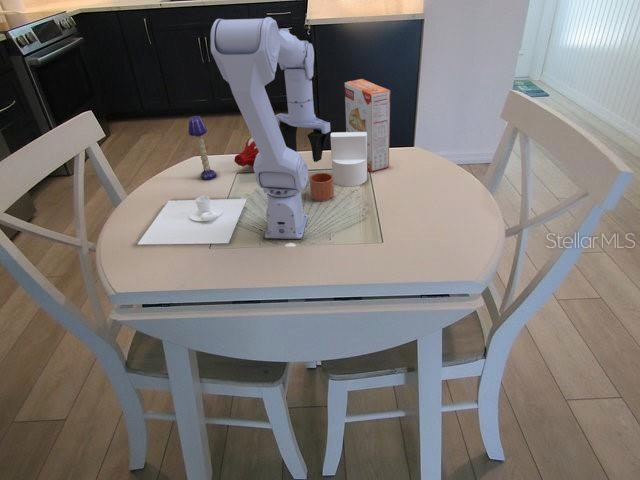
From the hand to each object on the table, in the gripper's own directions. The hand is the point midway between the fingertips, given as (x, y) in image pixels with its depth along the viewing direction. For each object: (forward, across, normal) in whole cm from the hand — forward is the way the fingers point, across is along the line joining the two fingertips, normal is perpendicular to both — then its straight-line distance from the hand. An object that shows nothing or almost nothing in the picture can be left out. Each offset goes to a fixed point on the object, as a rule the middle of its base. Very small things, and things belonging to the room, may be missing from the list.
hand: (304, 157), depth 108 cm
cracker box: (+10, -2, -24) cm, 26 cm away
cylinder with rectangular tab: (+10, -4, -12) cm, 16 cm away
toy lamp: (+10, +30, +6) cm, 32 cm away
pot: (+10, -4, -1) cm, 10 cm away
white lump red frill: (+10, +22, -7) cm, 25 cm away
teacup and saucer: (+10, +14, +24) cm, 29 cm away
